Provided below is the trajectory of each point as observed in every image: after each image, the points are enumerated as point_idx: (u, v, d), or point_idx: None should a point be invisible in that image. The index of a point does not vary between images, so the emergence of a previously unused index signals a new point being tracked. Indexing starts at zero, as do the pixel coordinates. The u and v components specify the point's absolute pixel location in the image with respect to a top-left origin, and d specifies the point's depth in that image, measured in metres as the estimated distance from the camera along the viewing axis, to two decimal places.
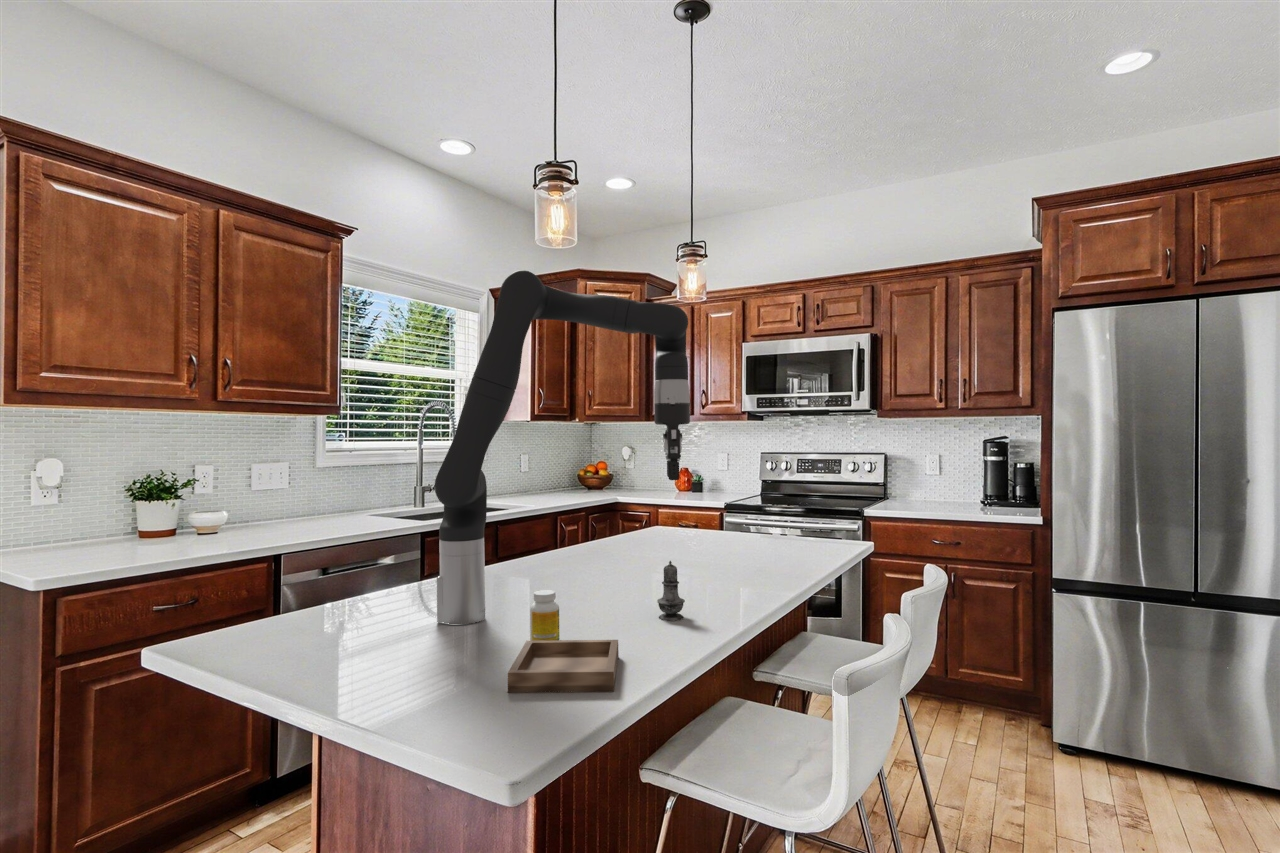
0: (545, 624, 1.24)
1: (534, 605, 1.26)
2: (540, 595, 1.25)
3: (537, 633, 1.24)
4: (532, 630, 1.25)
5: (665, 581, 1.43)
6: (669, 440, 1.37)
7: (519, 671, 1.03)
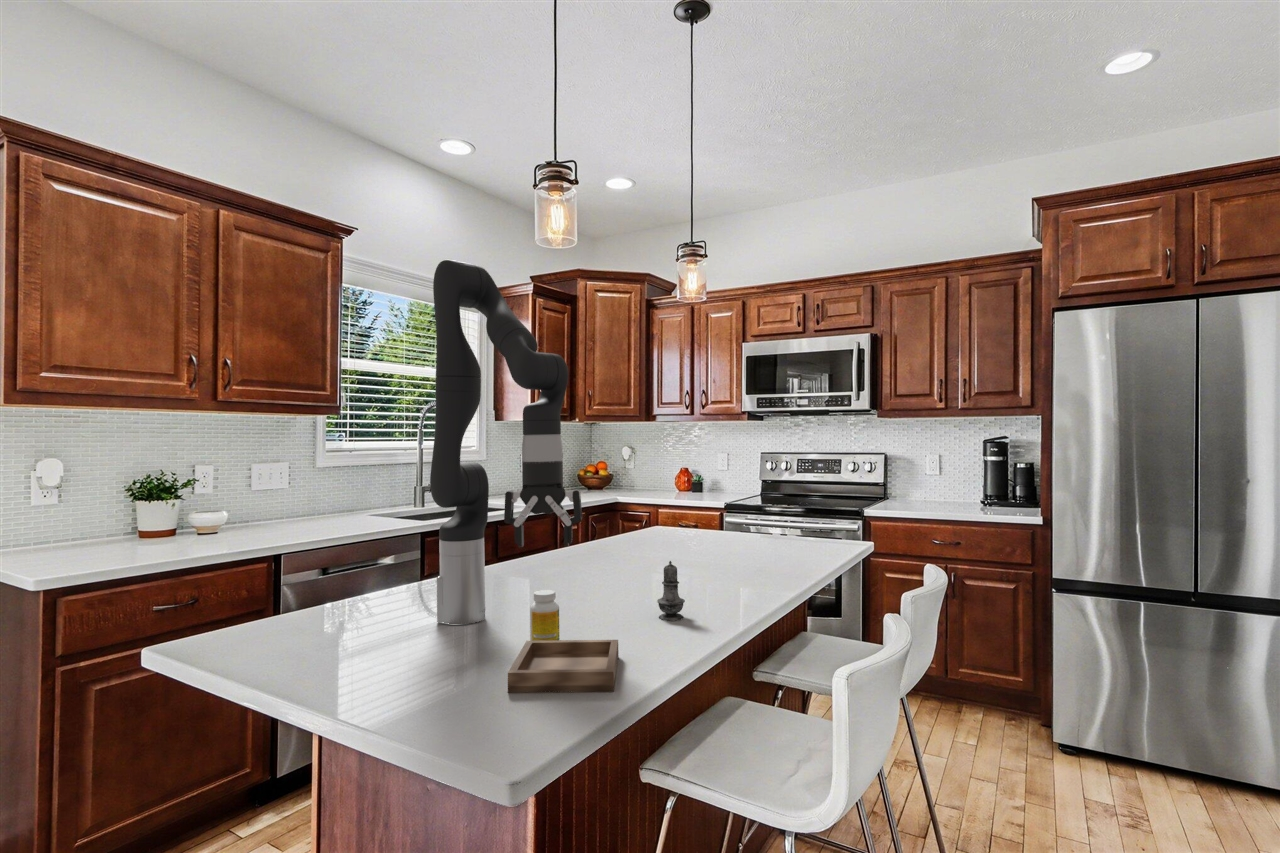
0: (545, 624, 1.24)
1: (534, 605, 1.26)
2: (540, 595, 1.25)
3: (537, 633, 1.24)
4: (532, 630, 1.25)
5: (665, 581, 1.43)
6: (579, 502, 1.26)
7: (519, 671, 1.03)
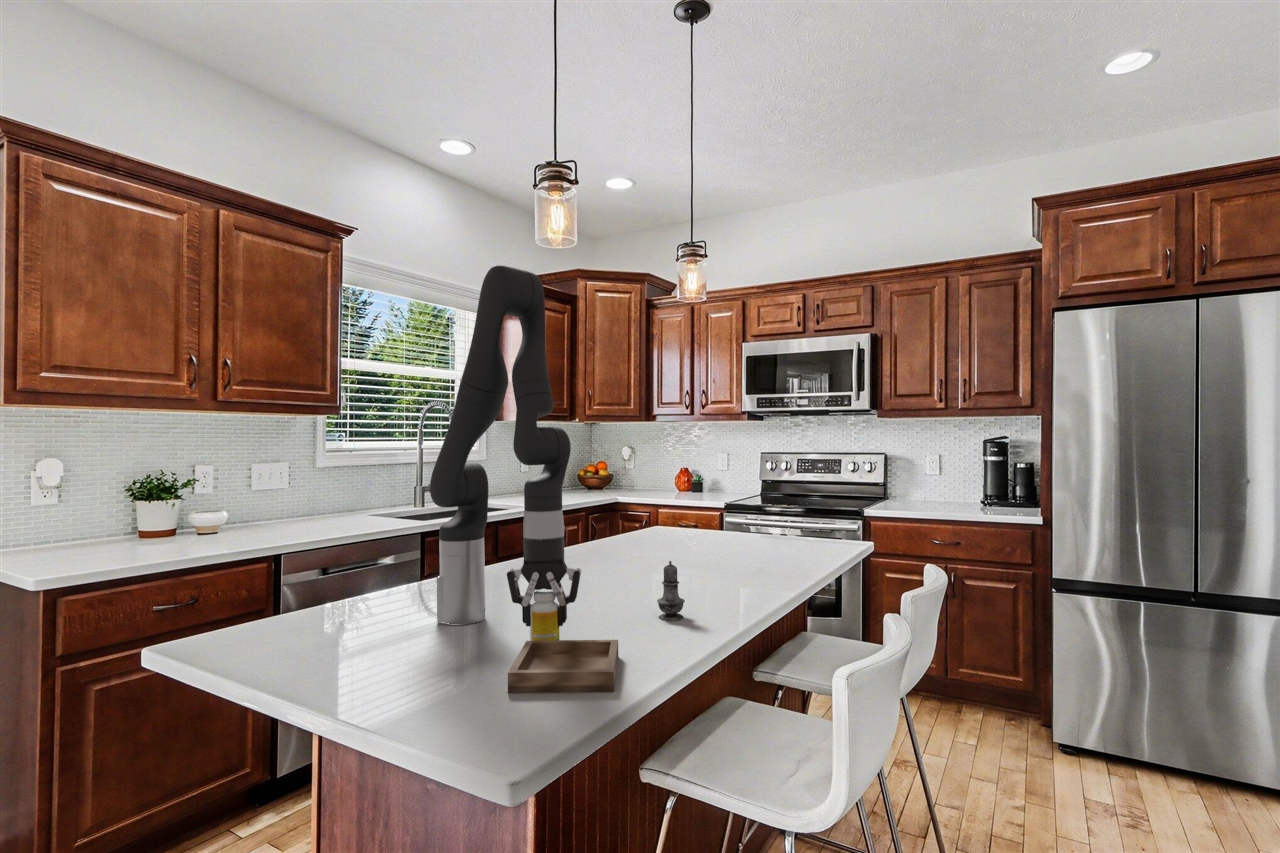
0: (544, 623, 1.24)
1: (534, 605, 1.26)
2: (540, 595, 1.25)
3: (537, 633, 1.24)
4: (532, 630, 1.25)
5: (665, 581, 1.43)
6: (578, 583, 1.26)
7: (519, 671, 1.03)
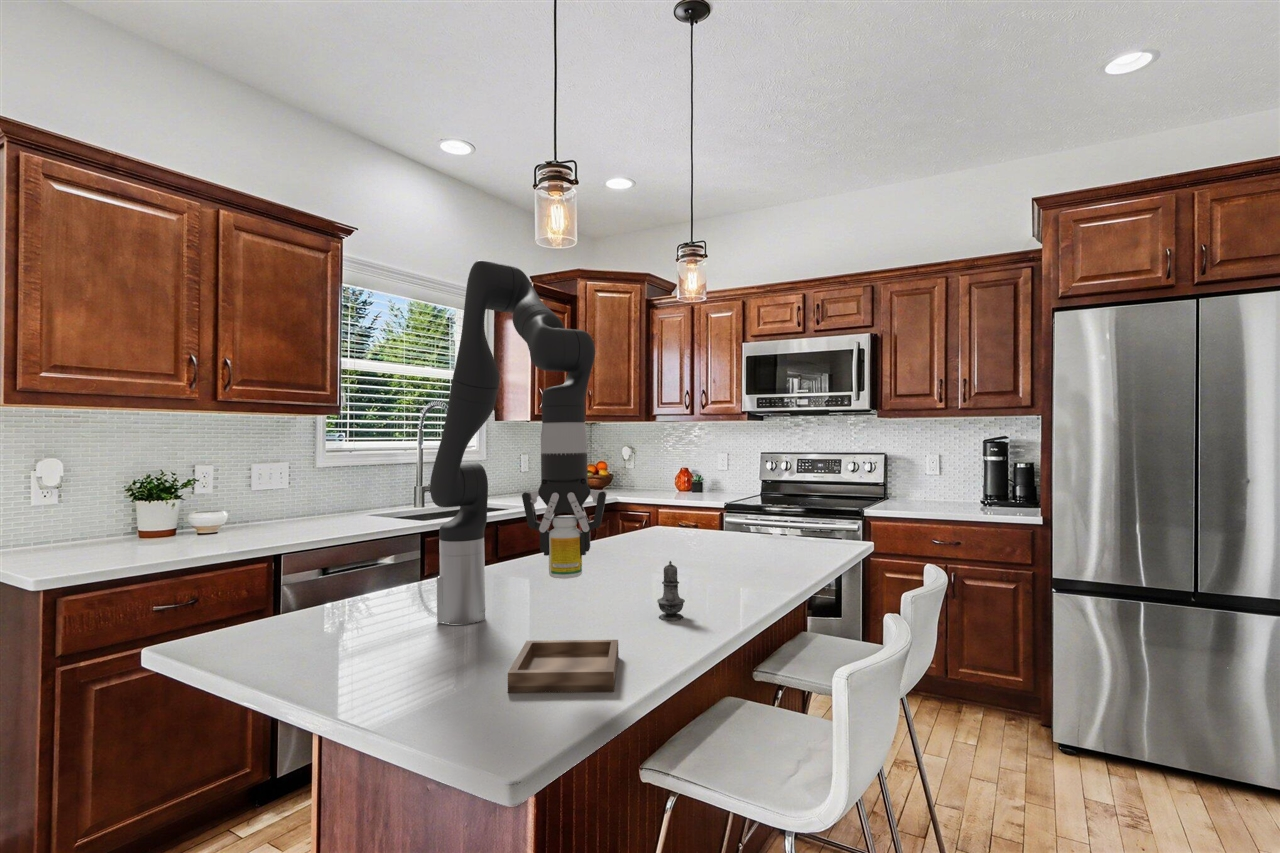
0: (566, 551, 1.08)
1: (553, 531, 1.10)
2: (560, 519, 1.09)
3: (557, 562, 1.09)
4: (551, 558, 1.09)
5: (665, 581, 1.43)
6: (603, 505, 1.10)
7: (519, 671, 1.03)
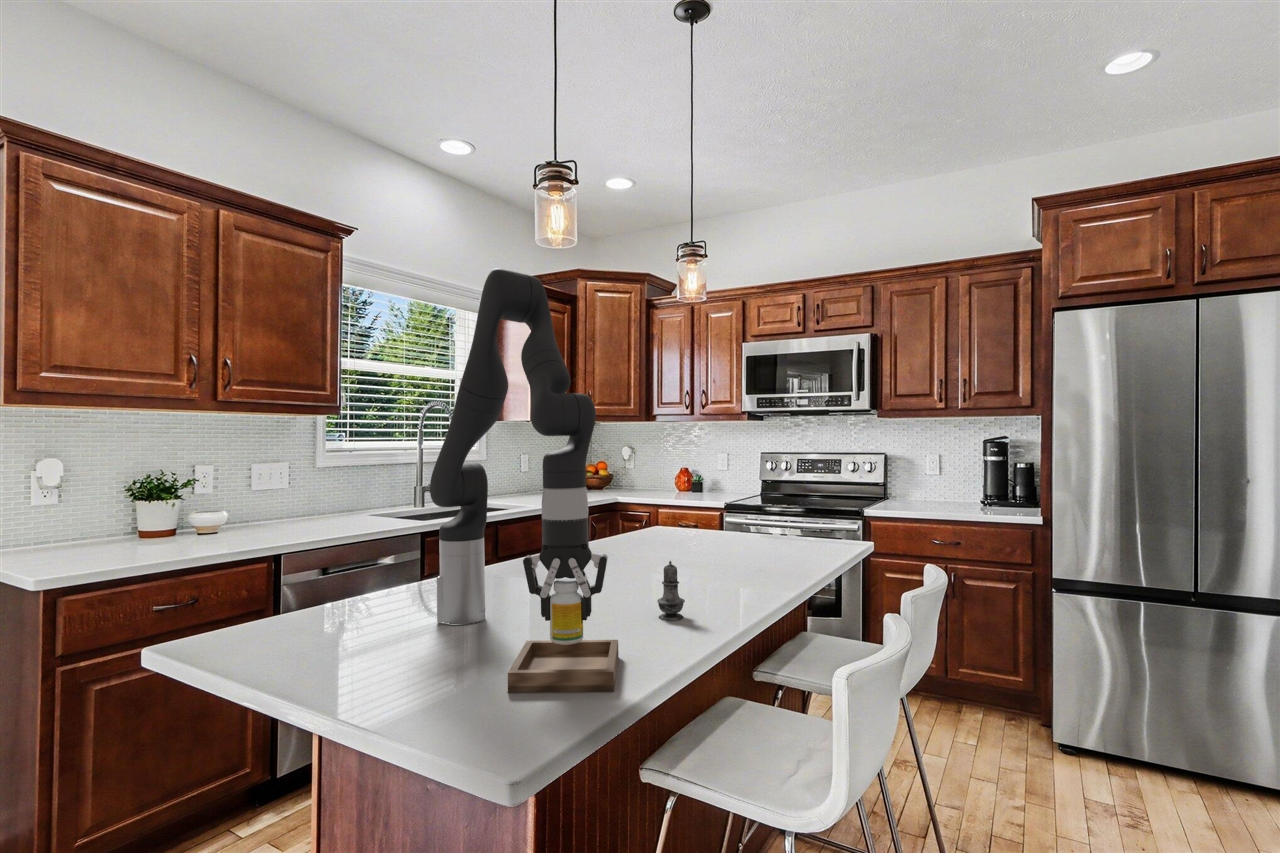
0: (567, 617, 1.08)
1: (554, 596, 1.10)
2: (561, 584, 1.09)
3: (558, 628, 1.08)
4: (552, 624, 1.09)
5: (665, 581, 1.43)
6: None
7: (519, 671, 1.03)
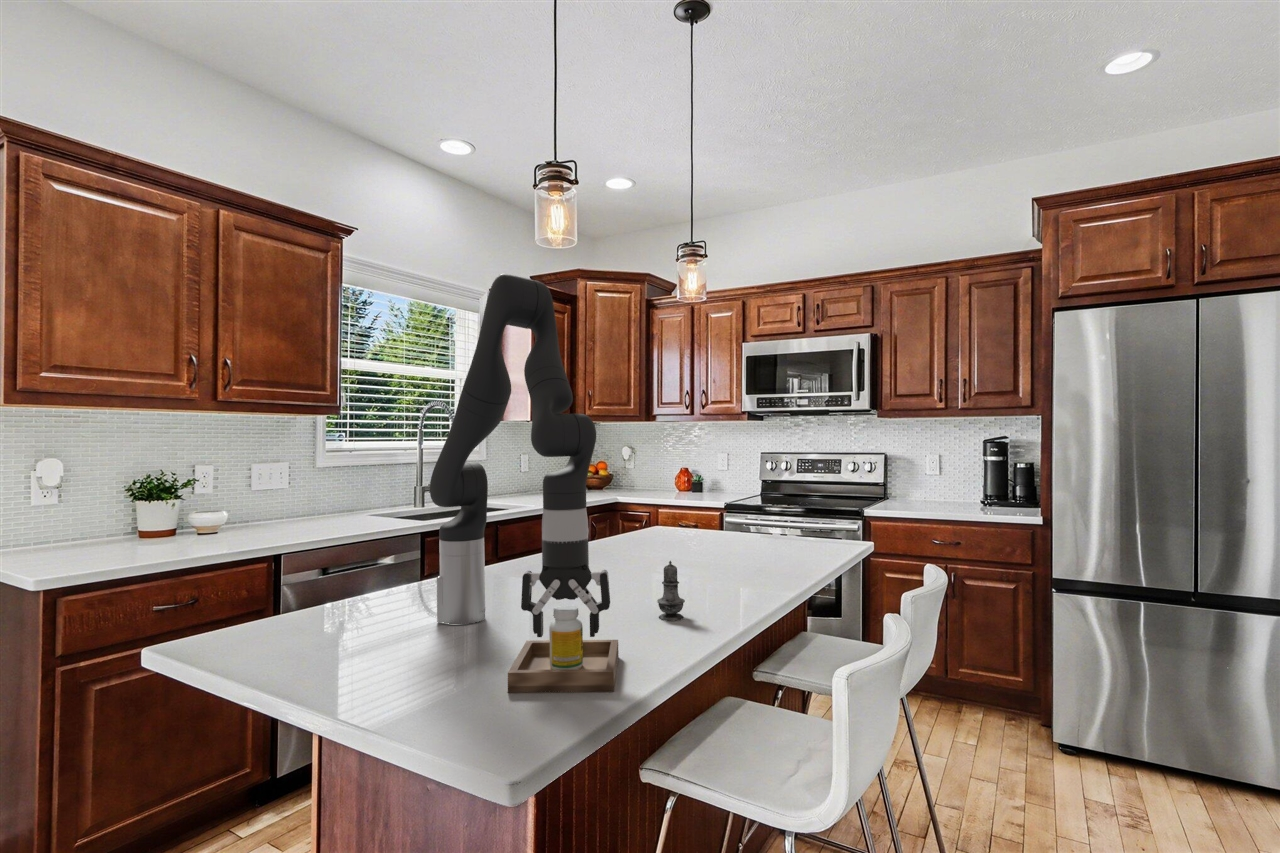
0: (566, 645, 1.08)
1: (554, 623, 1.10)
2: (561, 612, 1.09)
3: (558, 655, 1.08)
4: (551, 651, 1.09)
5: (665, 581, 1.43)
6: (608, 586, 1.10)
7: (519, 671, 1.03)
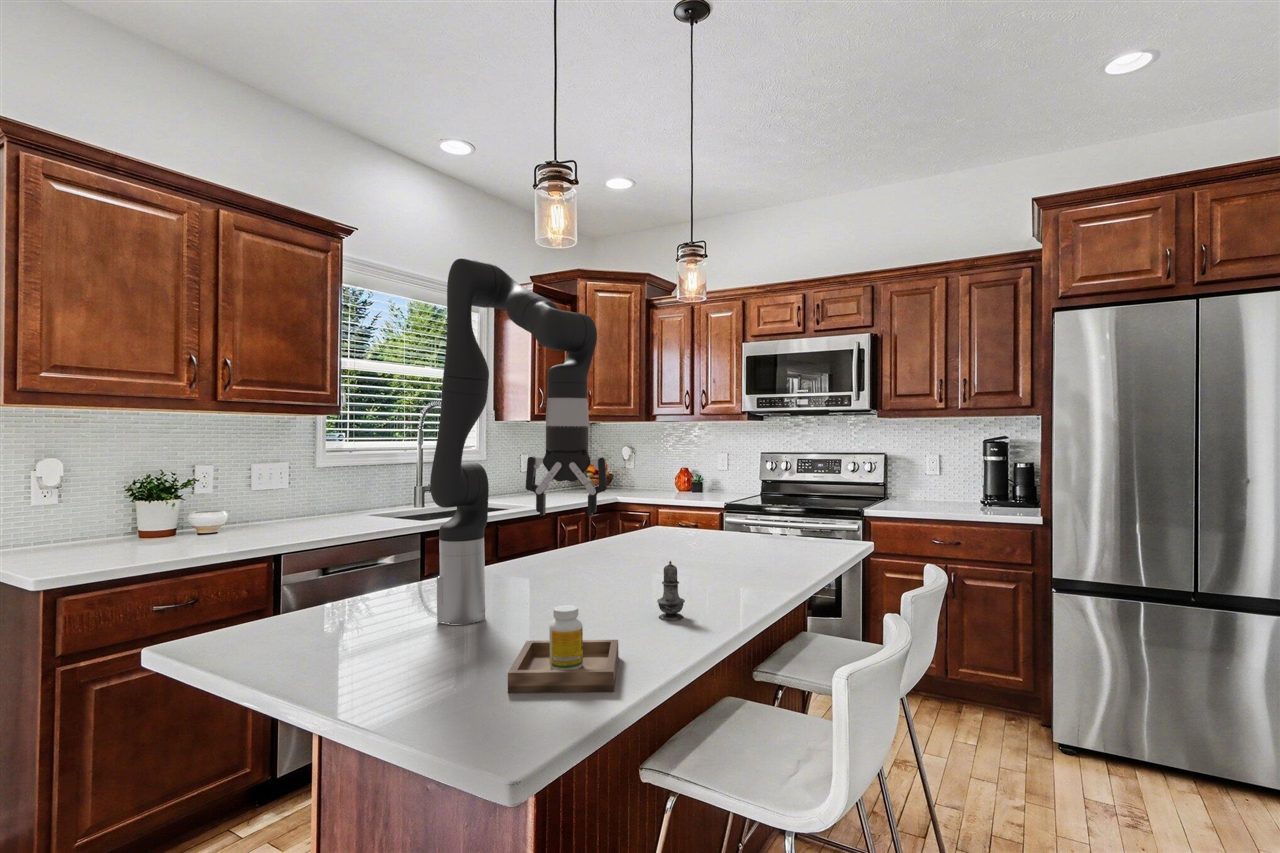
0: (566, 645, 1.08)
1: (554, 623, 1.10)
2: (561, 612, 1.09)
3: (558, 655, 1.08)
4: (551, 651, 1.09)
5: (665, 581, 1.43)
6: (605, 470, 1.20)
7: (519, 671, 1.03)
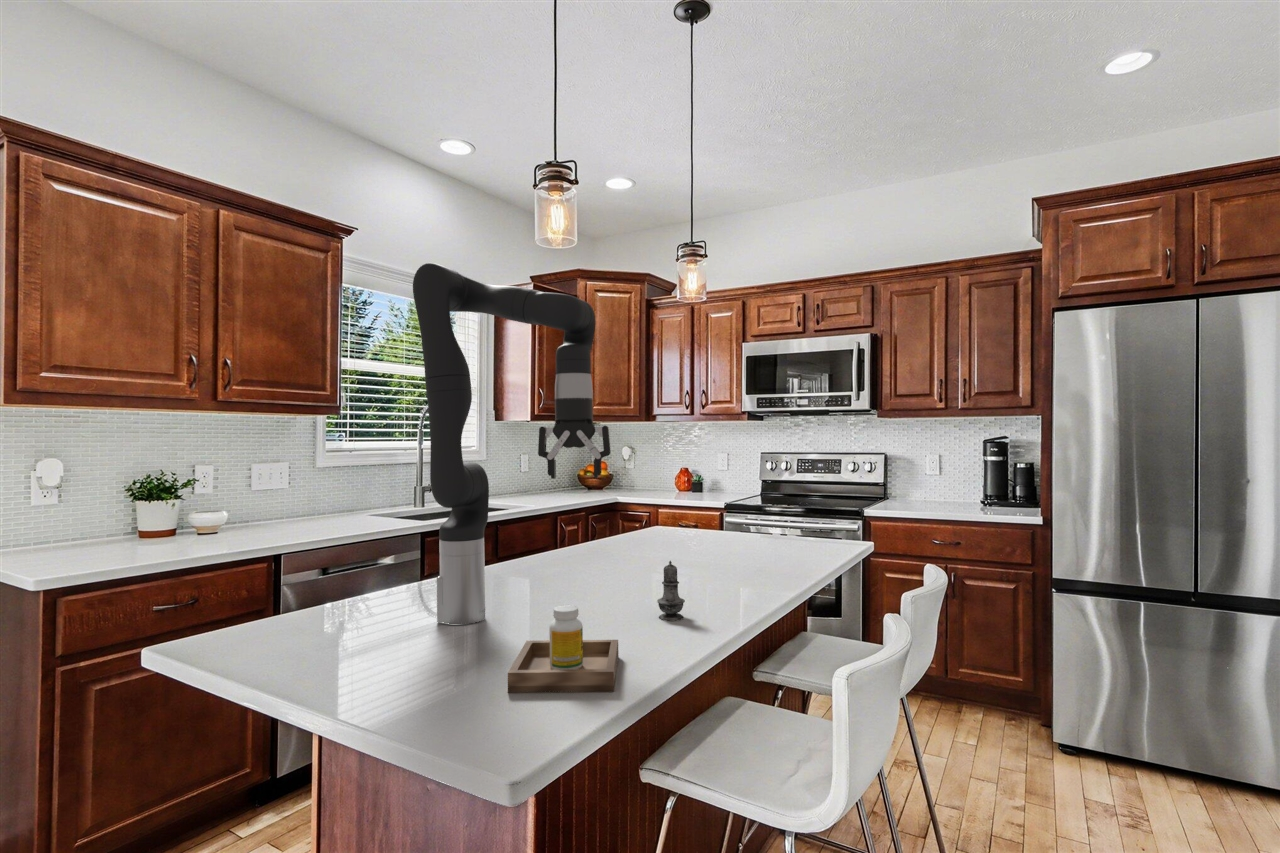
0: (566, 645, 1.08)
1: (554, 623, 1.10)
2: (561, 612, 1.09)
3: (558, 655, 1.08)
4: (551, 651, 1.09)
5: (665, 581, 1.43)
6: (608, 436, 1.35)
7: (519, 671, 1.03)
